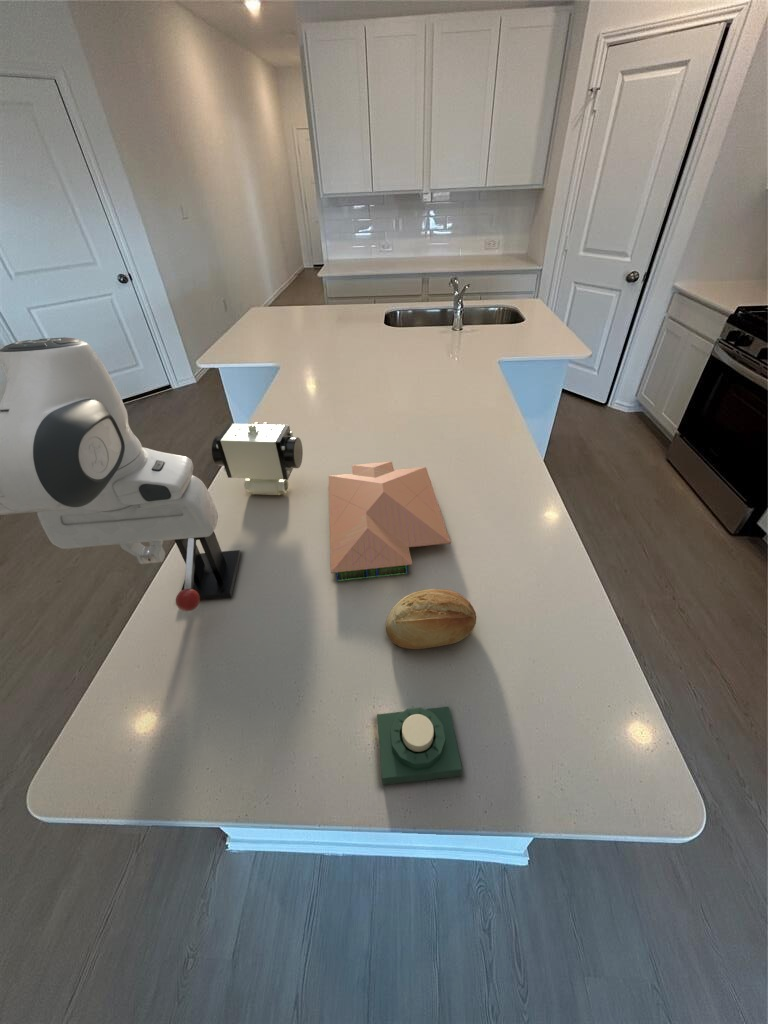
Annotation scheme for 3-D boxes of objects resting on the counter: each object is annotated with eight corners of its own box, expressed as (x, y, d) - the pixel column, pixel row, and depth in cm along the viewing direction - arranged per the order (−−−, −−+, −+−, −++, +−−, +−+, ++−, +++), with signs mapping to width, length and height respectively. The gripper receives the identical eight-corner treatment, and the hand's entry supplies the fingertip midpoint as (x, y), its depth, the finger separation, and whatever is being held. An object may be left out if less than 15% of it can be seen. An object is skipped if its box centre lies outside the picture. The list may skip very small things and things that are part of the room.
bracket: (231, 597, 79) (209, 542, 70) (180, 602, 79) (152, 547, 70) (241, 554, 88) (222, 500, 79) (195, 558, 87) (171, 504, 78)
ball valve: (310, 481, 106) (299, 415, 94) (302, 503, 99) (288, 435, 88) (239, 479, 108) (219, 413, 96) (226, 500, 101) (203, 433, 90)
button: (430, 718, 58) (430, 712, 57) (435, 750, 55) (436, 744, 54) (400, 721, 58) (400, 715, 57) (404, 753, 55) (404, 748, 54)
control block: (447, 713, 62) (449, 700, 59) (460, 776, 56) (463, 763, 53) (377, 721, 61) (376, 707, 59) (382, 785, 55) (381, 773, 53)
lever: (202, 611, 72) (194, 608, 69) (180, 613, 72) (170, 610, 69) (207, 525, 78) (199, 518, 75) (186, 527, 78) (178, 519, 74)
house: (423, 471, 107) (424, 443, 102) (454, 571, 82) (458, 540, 77) (329, 480, 106) (325, 451, 101) (332, 584, 81) (327, 553, 76)
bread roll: (484, 650, 70) (491, 619, 64) (392, 666, 68) (391, 637, 63) (465, 602, 77) (469, 571, 72) (381, 616, 75) (379, 586, 70)
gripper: (4, 501, 49) (65, 584, 58) (191, 486, 50) (223, 569, 59) (33, 469, 54) (85, 550, 63) (203, 457, 55) (231, 538, 64)
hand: (153, 559), depth 61 cm, fingers closed
